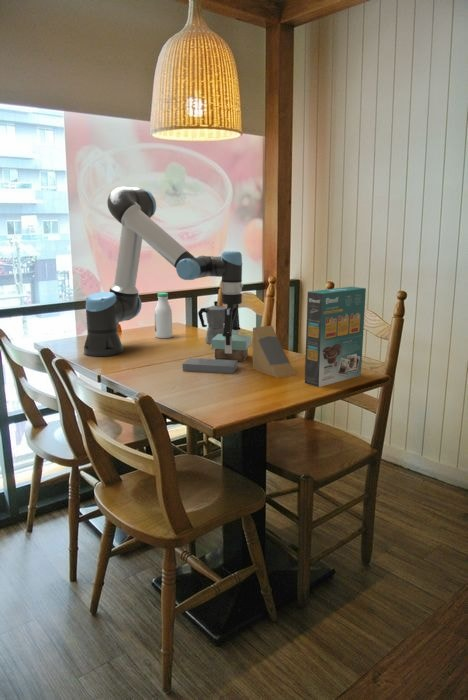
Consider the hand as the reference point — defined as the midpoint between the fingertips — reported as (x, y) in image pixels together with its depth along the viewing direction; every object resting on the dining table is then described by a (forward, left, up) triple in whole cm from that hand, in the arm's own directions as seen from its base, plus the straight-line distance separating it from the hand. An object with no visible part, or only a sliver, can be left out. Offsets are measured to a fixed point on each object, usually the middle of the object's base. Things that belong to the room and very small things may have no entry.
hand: (231, 349), depth 217 cm
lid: (0, 0, +1) cm, 1 cm away
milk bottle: (-38, +32, -3) cm, 50 cm away
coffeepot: (-13, +25, -3) cm, 28 cm away
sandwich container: (+18, -16, -4) cm, 25 cm away
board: (-4, -18, -3) cm, 19 cm away
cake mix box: (+39, -22, -3) cm, 45 cm away
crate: (0, 0, -3) cm, 3 cm away
